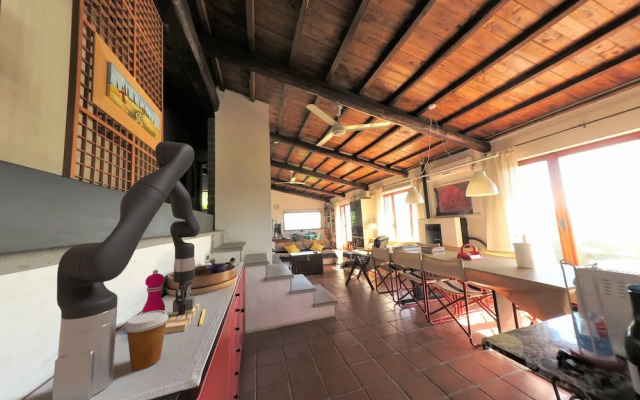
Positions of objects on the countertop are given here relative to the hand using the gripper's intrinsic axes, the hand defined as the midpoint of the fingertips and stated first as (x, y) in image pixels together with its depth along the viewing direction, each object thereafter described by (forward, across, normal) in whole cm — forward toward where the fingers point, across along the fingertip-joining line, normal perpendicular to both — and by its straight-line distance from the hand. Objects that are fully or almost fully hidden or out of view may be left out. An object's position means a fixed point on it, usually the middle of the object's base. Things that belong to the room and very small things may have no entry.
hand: (183, 311), depth 89 cm
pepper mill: (+2, -1, +10) cm, 10 cm away
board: (+2, -3, 0) cm, 4 cm away
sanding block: (0, 0, 0) cm, 0 cm away
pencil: (+2, -5, -8) cm, 10 cm away
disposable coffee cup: (+2, -31, +1) cm, 31 cm away
